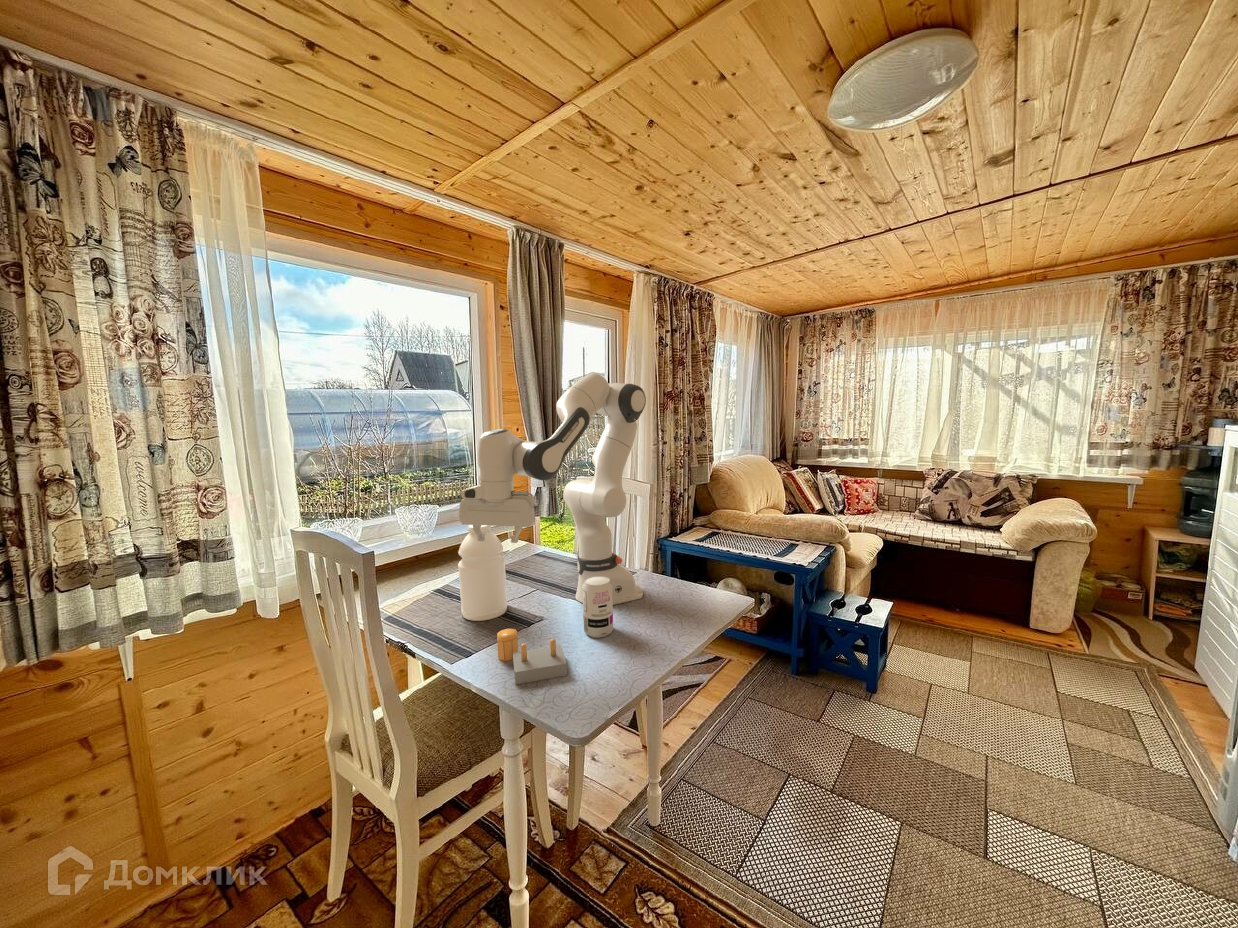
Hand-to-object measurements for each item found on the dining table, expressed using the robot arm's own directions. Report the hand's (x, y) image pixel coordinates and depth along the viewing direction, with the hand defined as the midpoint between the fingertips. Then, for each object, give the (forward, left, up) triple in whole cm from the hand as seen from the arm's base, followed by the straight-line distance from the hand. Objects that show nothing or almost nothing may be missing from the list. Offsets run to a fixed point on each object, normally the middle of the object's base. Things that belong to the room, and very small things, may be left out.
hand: (497, 541), depth 124 cm
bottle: (+5, -20, -28) cm, 34 cm away
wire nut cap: (-1, +9, -28) cm, 29 cm away
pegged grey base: (-8, +18, -28) cm, 34 cm away
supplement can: (-26, +4, -28) cm, 38 cm away
